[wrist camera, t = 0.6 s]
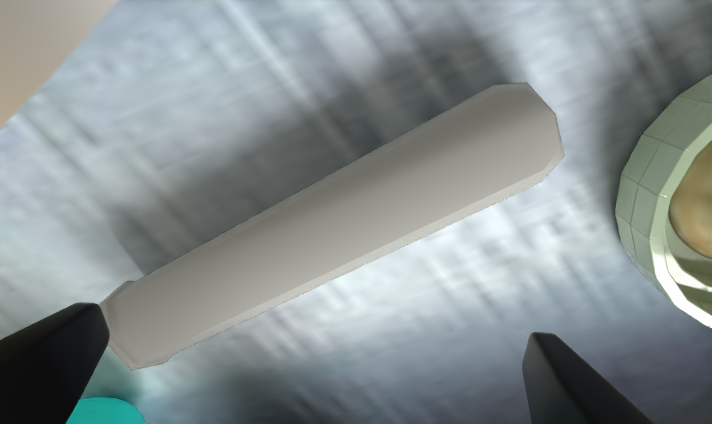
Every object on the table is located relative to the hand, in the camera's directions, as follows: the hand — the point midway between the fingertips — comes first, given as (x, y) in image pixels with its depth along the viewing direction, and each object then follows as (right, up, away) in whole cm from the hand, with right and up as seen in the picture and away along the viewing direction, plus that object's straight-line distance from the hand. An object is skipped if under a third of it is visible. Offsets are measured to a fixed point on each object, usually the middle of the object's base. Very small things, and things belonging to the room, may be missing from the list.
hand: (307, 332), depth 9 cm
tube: (-1, +2, +15) cm, 15 cm away
